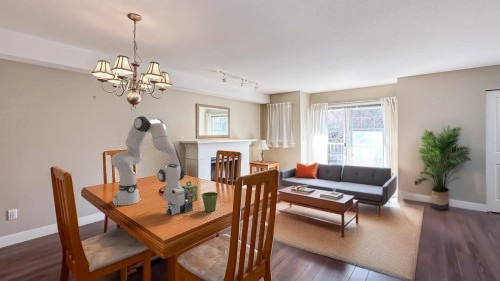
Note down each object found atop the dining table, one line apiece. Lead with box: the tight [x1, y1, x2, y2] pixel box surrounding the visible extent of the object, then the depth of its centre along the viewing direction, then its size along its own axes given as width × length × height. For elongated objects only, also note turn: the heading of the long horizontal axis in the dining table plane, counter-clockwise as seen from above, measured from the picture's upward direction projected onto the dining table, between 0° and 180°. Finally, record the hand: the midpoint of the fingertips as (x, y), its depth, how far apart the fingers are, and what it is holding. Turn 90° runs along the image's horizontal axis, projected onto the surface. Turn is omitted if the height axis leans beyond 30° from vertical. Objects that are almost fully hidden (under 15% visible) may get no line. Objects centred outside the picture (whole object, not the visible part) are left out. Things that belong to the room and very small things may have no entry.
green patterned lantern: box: [181, 180, 198, 202], centre depth 183 cm, size 9×9×15 cm
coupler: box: [165, 199, 194, 216], centre depth 158 cm, size 10×16×7 cm, turn 139°
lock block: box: [166, 203, 181, 216], centre depth 155 cm, size 6×6×6 cm
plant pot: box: [200, 191, 220, 213], centre depth 160 cm, size 12×12×11 cm
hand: (173, 209), depth 155 cm, fingers closed on lock block, 6 cm apart
